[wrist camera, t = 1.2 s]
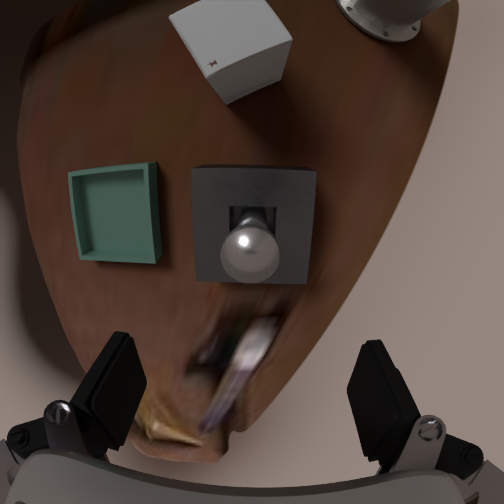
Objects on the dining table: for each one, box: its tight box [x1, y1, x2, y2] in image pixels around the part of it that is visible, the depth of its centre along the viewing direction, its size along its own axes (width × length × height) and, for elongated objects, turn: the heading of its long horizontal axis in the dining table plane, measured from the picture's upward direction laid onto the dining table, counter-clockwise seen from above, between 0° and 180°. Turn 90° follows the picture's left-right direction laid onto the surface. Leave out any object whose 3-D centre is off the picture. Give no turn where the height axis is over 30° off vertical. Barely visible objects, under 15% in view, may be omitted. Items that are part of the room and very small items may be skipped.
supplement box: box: [169, 0, 293, 105], centre depth 20 cm, size 7×7×13 cm
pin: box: [220, 206, 280, 283], centre depth 26 cm, size 4×4×12 cm
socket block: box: [191, 164, 317, 284], centre depth 30 cm, size 12×12×6 cm
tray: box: [68, 162, 163, 264], centre depth 31 cm, size 12×12×3 cm
